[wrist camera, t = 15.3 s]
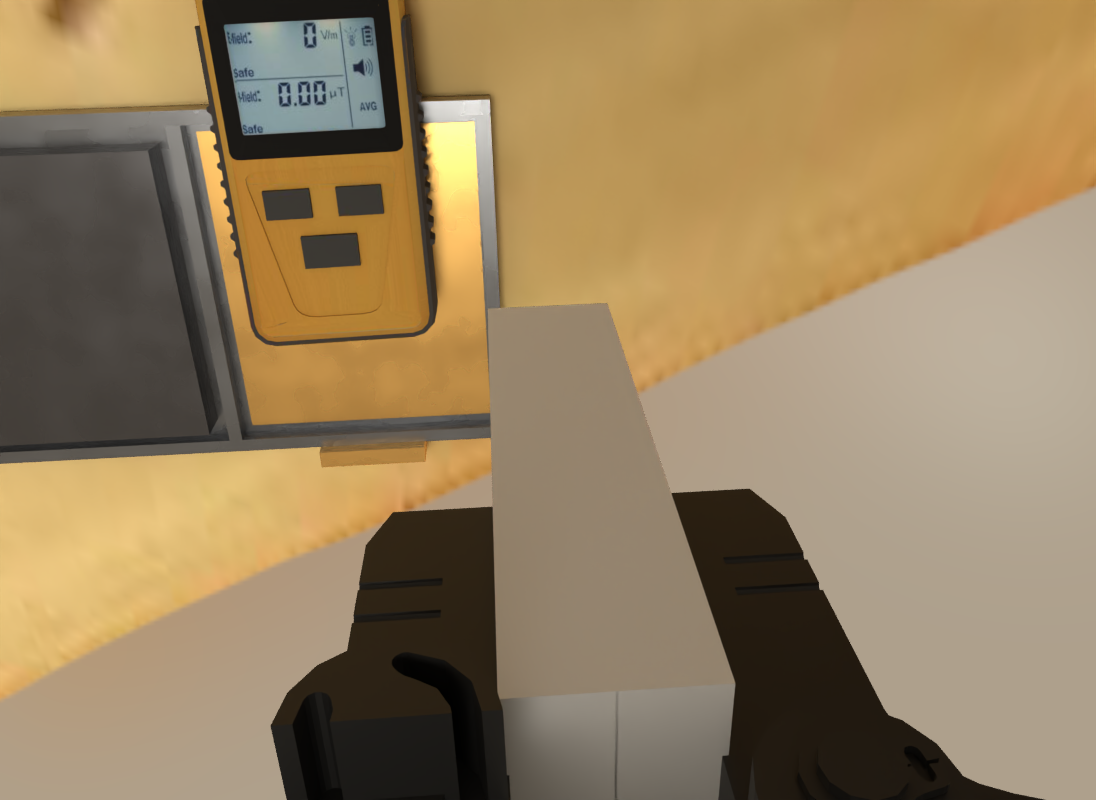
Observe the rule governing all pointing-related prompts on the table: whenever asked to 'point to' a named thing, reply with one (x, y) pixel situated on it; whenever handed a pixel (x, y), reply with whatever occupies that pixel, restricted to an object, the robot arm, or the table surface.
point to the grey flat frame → (215, 302)
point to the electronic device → (322, 166)
